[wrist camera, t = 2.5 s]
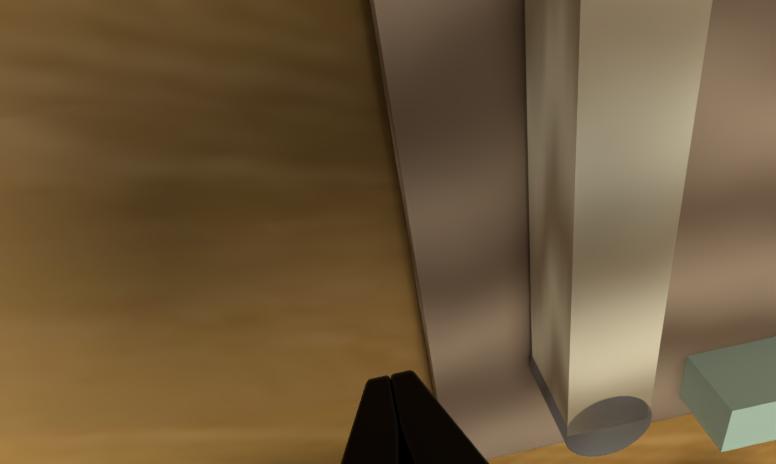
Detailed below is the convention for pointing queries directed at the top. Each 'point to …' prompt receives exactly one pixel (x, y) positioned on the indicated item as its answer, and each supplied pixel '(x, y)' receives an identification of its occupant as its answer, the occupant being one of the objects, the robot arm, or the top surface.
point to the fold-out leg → (606, 201)
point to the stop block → (734, 393)
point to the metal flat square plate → (511, 205)
